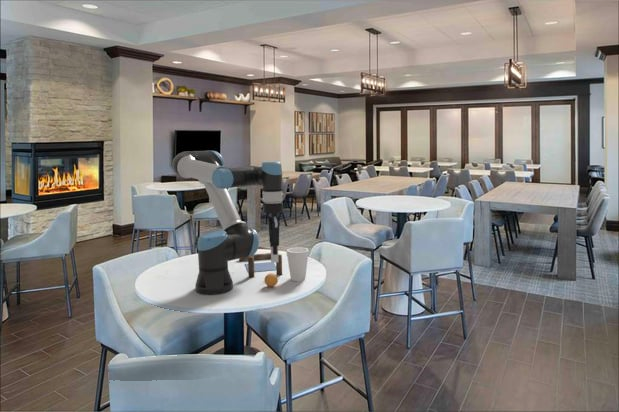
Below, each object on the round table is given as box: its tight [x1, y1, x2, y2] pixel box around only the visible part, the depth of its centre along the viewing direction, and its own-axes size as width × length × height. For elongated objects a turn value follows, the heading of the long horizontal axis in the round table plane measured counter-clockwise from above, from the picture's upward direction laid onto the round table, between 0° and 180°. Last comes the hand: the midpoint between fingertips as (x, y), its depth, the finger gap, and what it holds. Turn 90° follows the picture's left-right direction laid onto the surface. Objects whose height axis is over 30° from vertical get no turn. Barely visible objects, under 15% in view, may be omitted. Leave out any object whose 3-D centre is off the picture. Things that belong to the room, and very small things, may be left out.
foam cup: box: [286, 247, 310, 282], centre depth 195 cm, size 10×9×13 cm
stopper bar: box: [238, 252, 271, 262], centre depth 229 cm, size 18×2×2 cm, turn 104°
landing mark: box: [244, 261, 276, 273], centre depth 215 cm, size 14×14×1 cm
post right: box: [275, 253, 283, 276], centre depth 202 cm, size 3×3×9 cm
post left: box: [247, 256, 255, 279], centre depth 199 cm, size 3×3×9 cm
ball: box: [264, 273, 279, 288], centre depth 186 cm, size 6×6×6 cm
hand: (274, 261), depth 175 cm, fingers closed
